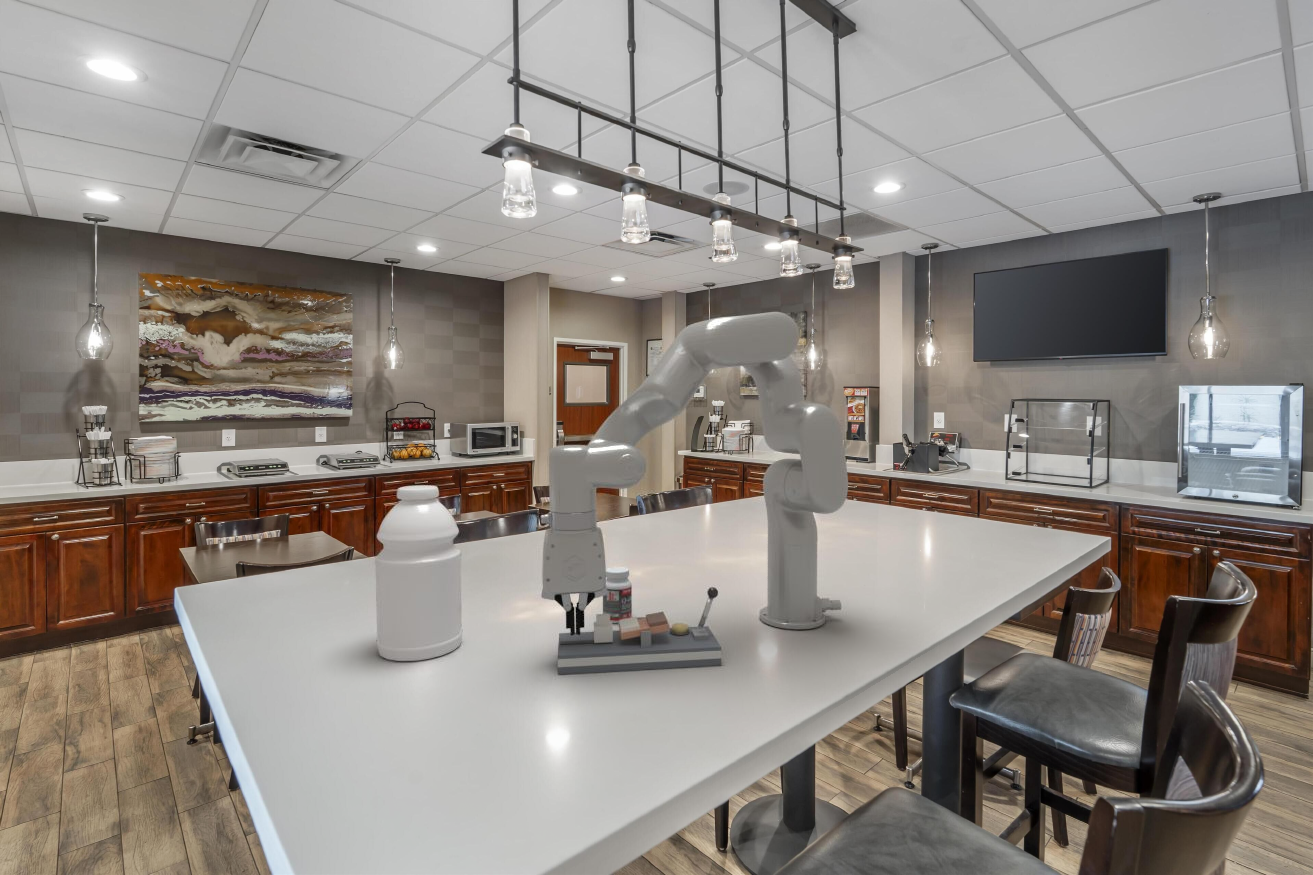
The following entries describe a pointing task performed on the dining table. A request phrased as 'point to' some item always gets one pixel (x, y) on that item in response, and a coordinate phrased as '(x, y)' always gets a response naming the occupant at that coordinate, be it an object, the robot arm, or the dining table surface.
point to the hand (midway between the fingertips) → (575, 632)
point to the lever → (707, 606)
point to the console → (639, 651)
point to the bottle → (418, 578)
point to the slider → (603, 629)
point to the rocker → (643, 625)
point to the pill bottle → (618, 594)
